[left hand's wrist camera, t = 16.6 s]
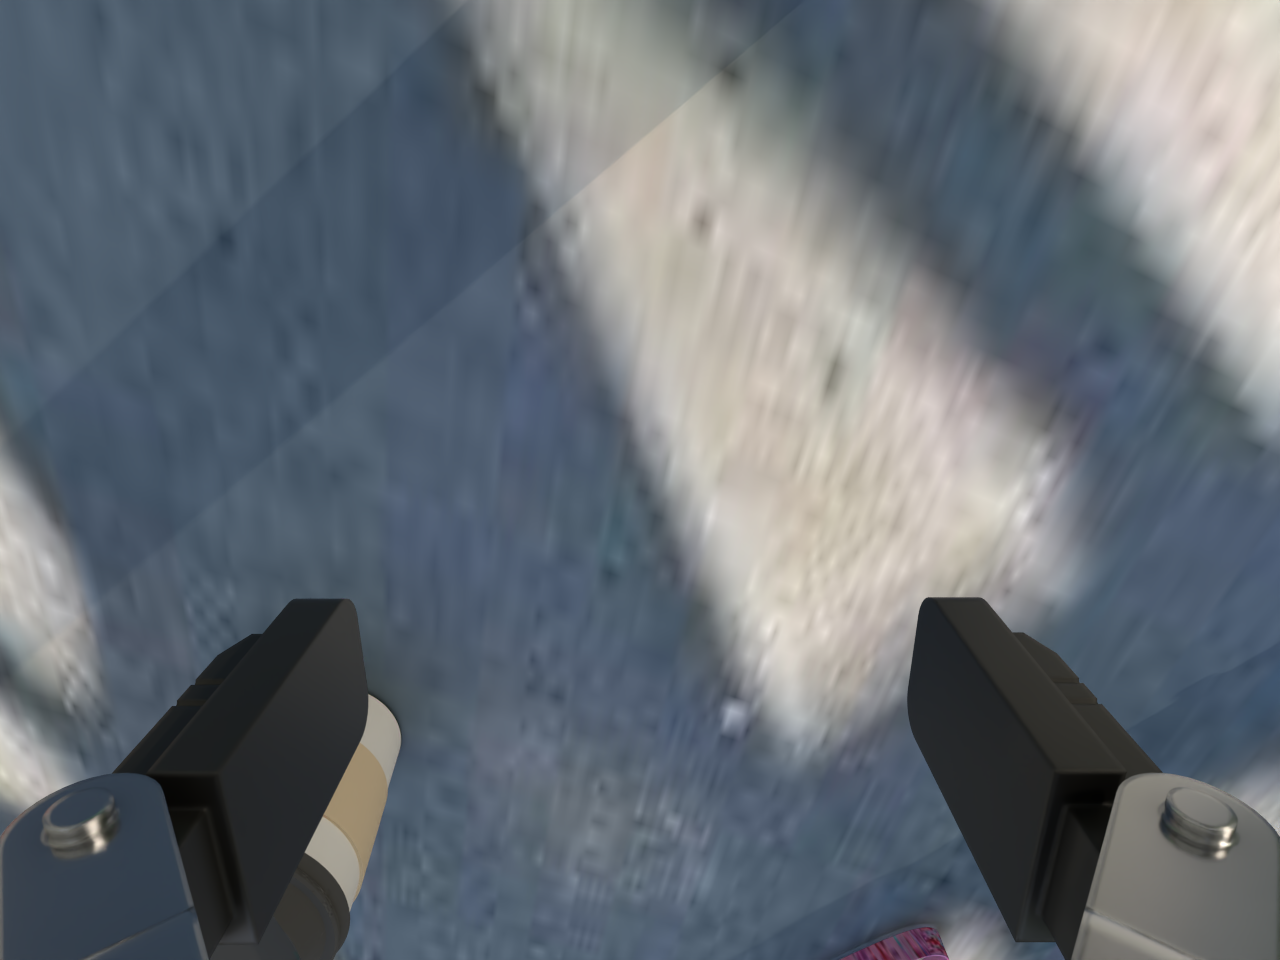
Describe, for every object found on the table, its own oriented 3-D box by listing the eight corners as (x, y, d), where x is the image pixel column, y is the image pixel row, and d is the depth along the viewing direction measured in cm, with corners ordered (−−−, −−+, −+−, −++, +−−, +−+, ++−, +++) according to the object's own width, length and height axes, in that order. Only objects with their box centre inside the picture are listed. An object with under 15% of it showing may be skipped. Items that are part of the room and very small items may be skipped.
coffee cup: (310, 806, 50) (183, 1047, 36) (244, 693, 47) (78, 907, 33) (442, 773, 49) (363, 1006, 35) (383, 654, 46) (272, 858, 32)
